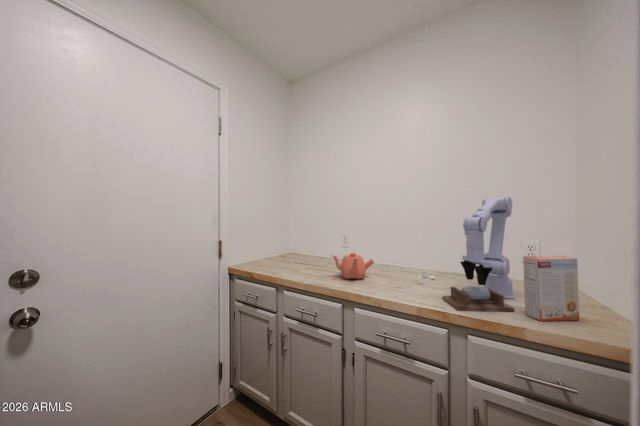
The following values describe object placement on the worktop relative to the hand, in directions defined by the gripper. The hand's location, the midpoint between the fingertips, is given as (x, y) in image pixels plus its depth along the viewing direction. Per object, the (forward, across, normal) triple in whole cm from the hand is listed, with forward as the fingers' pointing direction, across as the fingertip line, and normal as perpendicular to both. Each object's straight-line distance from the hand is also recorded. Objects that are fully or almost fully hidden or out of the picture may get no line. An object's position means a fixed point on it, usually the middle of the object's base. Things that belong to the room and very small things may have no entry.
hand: (475, 282), depth 91 cm
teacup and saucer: (+10, -38, -4) cm, 39 cm away
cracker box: (+9, +10, +19) cm, 23 cm away
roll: (+7, 0, 0) cm, 7 cm away
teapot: (+9, -39, -45) cm, 60 cm away
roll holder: (+9, 0, 0) cm, 9 cm away
